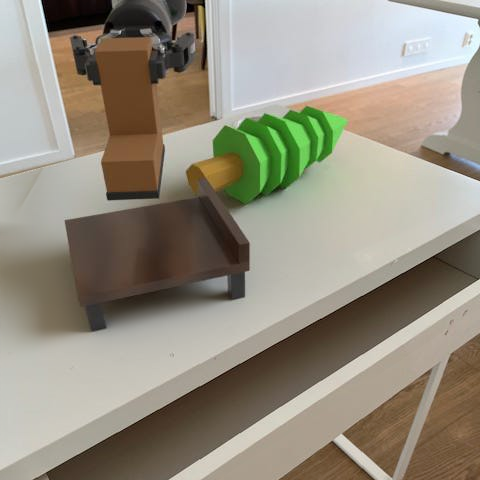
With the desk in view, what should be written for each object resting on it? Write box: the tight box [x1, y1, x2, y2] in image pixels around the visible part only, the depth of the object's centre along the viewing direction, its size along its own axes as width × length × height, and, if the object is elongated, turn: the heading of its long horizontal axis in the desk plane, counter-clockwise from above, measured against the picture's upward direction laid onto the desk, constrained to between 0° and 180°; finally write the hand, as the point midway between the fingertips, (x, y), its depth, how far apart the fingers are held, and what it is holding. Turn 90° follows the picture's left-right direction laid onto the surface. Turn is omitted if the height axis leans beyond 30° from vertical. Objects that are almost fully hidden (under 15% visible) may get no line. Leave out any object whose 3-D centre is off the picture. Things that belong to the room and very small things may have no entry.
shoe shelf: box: [64, 178, 251, 332], centre depth 59 cm, size 18×16×7 cm
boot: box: [95, 37, 166, 201], centre depth 52 cm, size 5×12×12 cm, turn 3°
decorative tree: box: [185, 105, 349, 205], centre depth 76 cm, size 11×12×30 cm
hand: (124, 73), depth 50 cm, fingers closed on boot, 5 cm apart
